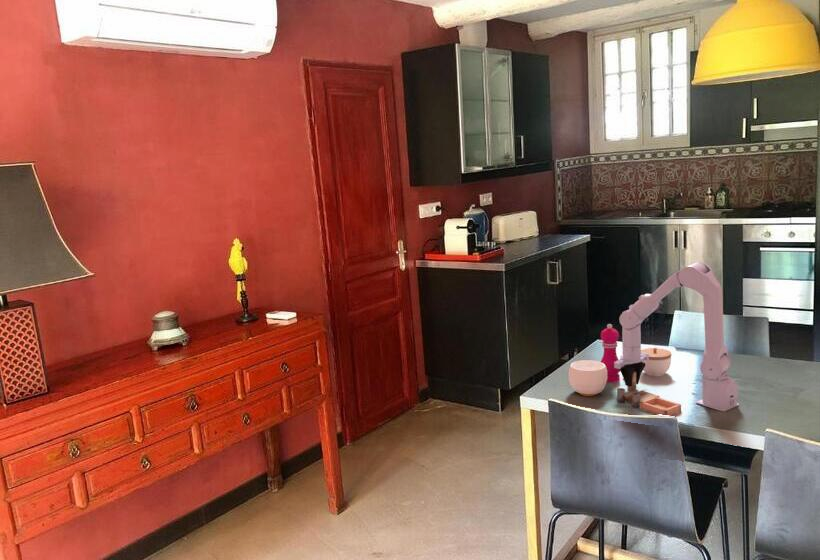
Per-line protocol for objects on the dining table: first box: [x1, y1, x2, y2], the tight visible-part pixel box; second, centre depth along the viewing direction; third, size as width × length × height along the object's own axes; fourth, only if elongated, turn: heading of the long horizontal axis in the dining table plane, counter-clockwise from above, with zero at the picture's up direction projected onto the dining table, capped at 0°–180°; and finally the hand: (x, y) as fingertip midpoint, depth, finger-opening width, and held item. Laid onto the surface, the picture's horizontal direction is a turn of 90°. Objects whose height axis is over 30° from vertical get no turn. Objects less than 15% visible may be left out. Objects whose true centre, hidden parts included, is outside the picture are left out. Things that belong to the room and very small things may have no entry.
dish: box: [639, 396, 682, 416], centre depth 205 cm, size 9×7×2 cm
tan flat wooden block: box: [625, 389, 660, 404], centre depth 215 cm, size 7×9×2 cm
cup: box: [568, 359, 608, 397], centre depth 222 cm, size 12×12×10 cm
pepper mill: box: [600, 323, 621, 384], centre depth 232 cm, size 7×7×20 cm
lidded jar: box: [641, 347, 672, 377], centre depth 237 cm, size 11×11×9 cm
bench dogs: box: [616, 387, 641, 409], centre depth 211 cm, size 8×2×4 cm, turn 32°
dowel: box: [626, 371, 637, 392], centre depth 224 cm, size 3×3×6 cm
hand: (631, 384), depth 224 cm, fingers closed on dowel, 3 cm apart
